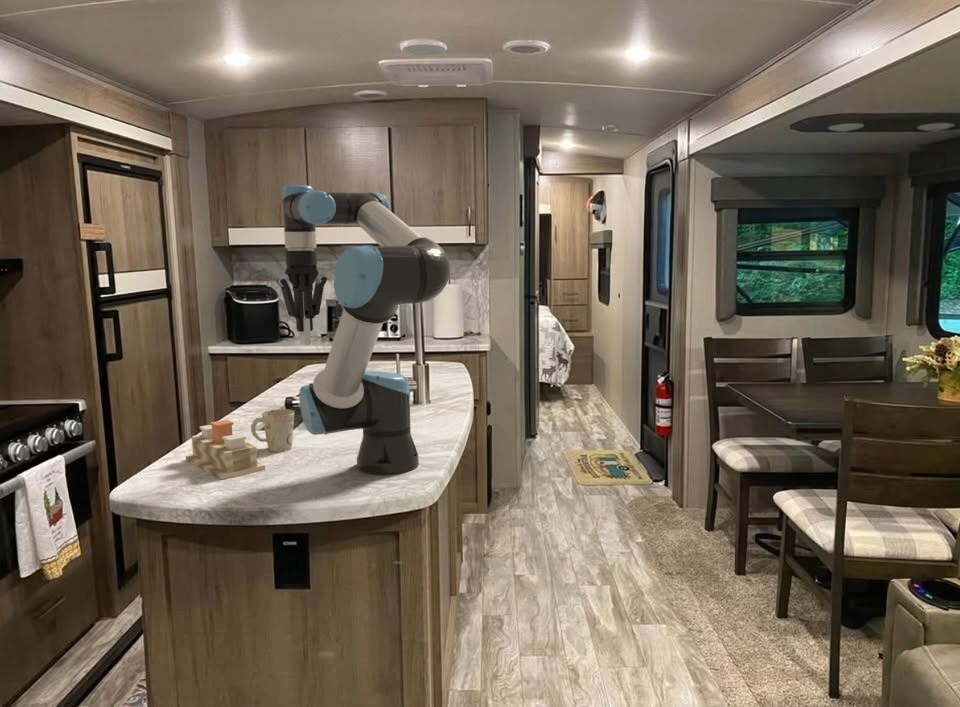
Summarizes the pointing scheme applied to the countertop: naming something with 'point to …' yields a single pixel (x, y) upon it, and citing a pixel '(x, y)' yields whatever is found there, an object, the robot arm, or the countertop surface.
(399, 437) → the robot arm
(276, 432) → the mug
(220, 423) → the plug centre
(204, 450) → the stepped wooden base
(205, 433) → the plug far
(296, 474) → the countertop surface
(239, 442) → the plug near
